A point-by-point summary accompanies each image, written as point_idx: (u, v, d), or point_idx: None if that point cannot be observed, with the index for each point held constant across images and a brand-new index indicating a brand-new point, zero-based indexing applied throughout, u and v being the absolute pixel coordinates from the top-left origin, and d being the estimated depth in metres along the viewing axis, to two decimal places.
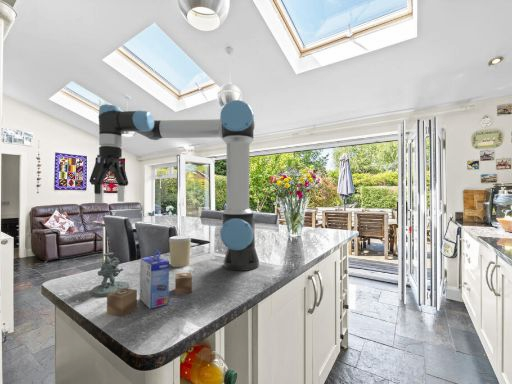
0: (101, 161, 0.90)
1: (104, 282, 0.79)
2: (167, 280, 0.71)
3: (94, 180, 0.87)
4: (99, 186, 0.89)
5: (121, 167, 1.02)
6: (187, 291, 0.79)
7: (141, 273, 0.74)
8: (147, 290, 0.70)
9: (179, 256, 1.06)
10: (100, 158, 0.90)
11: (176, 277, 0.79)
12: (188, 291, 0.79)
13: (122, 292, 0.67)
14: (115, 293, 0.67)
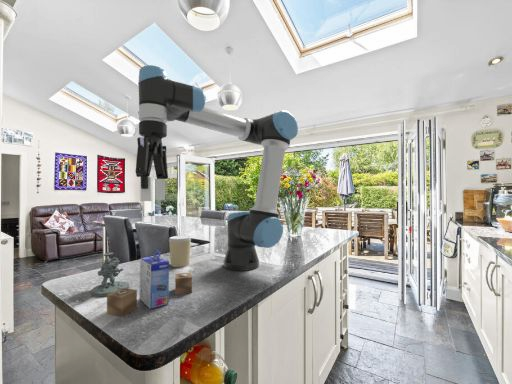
0: (145, 143, 0.67)
1: (104, 282, 0.79)
2: (167, 280, 0.71)
3: (142, 171, 0.66)
4: (147, 179, 0.68)
5: (163, 152, 0.79)
6: (187, 291, 0.79)
7: (141, 273, 0.74)
8: (147, 290, 0.70)
9: (179, 256, 1.06)
10: (143, 139, 0.67)
11: (176, 277, 0.79)
12: (188, 291, 0.79)
13: (122, 292, 0.67)
14: (115, 293, 0.67)
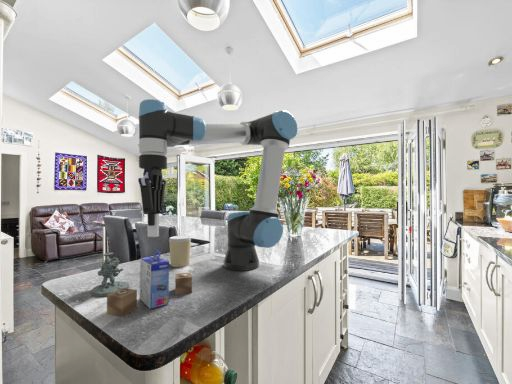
0: (147, 184, 0.68)
1: (104, 282, 0.79)
2: (167, 280, 0.71)
3: (149, 211, 0.70)
4: (153, 216, 0.72)
5: (161, 185, 0.77)
6: (187, 291, 0.79)
7: (141, 273, 0.74)
8: (147, 290, 0.70)
9: (179, 256, 1.06)
10: (144, 181, 0.67)
11: (176, 277, 0.79)
12: (188, 291, 0.79)
13: (122, 292, 0.67)
14: (115, 293, 0.67)
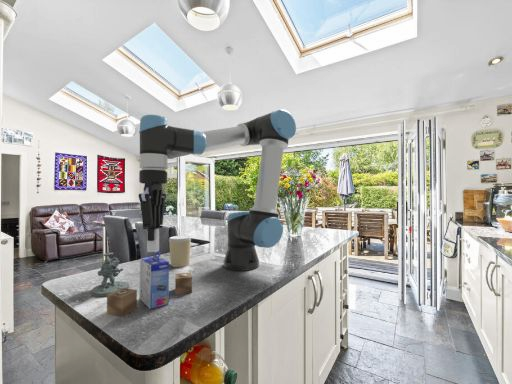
0: (147, 200, 0.68)
1: (104, 282, 0.79)
2: (167, 280, 0.71)
3: (149, 226, 0.69)
4: (153, 231, 0.72)
5: (162, 199, 0.77)
6: (187, 291, 0.79)
7: (141, 273, 0.74)
8: (147, 290, 0.70)
9: (179, 256, 1.06)
10: (145, 196, 0.67)
11: (176, 277, 0.79)
12: (188, 291, 0.79)
13: (122, 292, 0.67)
14: (115, 293, 0.67)
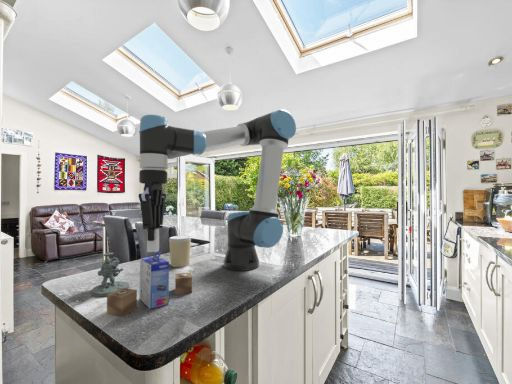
0: (147, 200, 0.68)
1: (104, 282, 0.79)
2: (167, 280, 0.71)
3: (149, 226, 0.69)
4: (153, 231, 0.72)
5: (162, 199, 0.77)
6: (187, 291, 0.79)
7: (141, 273, 0.74)
8: (147, 290, 0.70)
9: (179, 256, 1.06)
10: (145, 196, 0.67)
11: (176, 277, 0.79)
12: (188, 291, 0.79)
13: (122, 292, 0.67)
14: (115, 293, 0.67)
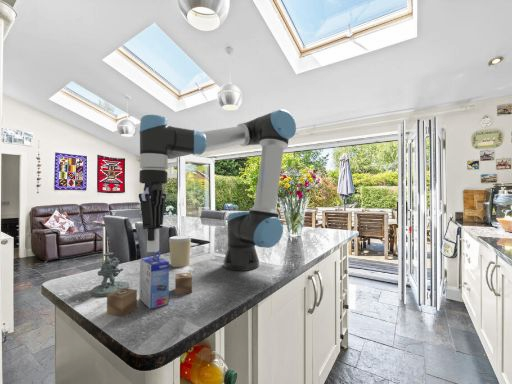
0: (147, 200, 0.68)
1: (104, 282, 0.79)
2: (167, 280, 0.71)
3: (149, 226, 0.69)
4: (153, 231, 0.72)
5: (162, 199, 0.77)
6: (187, 291, 0.79)
7: (141, 273, 0.74)
8: (147, 290, 0.70)
9: (179, 256, 1.06)
10: (145, 196, 0.67)
11: (176, 277, 0.79)
12: (188, 291, 0.79)
13: (122, 292, 0.67)
14: (115, 293, 0.67)
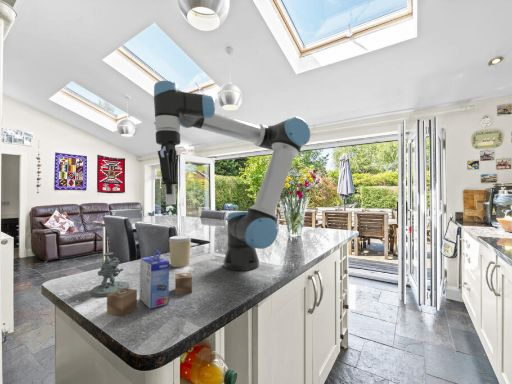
0: (166, 156, 0.76)
1: (104, 282, 0.79)
2: (167, 280, 0.71)
3: (168, 180, 0.78)
4: (171, 186, 0.81)
5: (175, 160, 0.86)
6: (187, 291, 0.79)
7: (141, 273, 0.74)
8: (147, 290, 0.70)
9: (179, 256, 1.06)
10: (163, 153, 0.76)
11: (176, 277, 0.79)
12: (188, 291, 0.79)
13: (122, 292, 0.67)
14: (115, 293, 0.67)
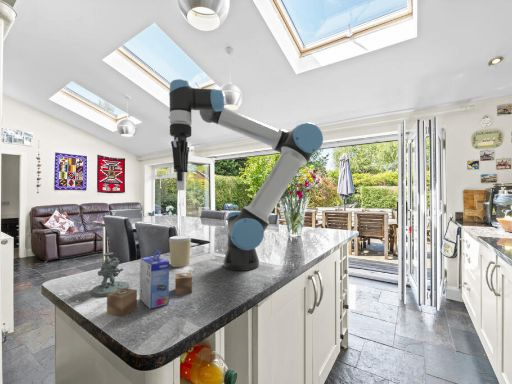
0: (178, 146, 0.86)
1: (104, 282, 0.79)
2: (167, 280, 0.71)
3: (179, 168, 0.88)
4: (181, 173, 0.90)
5: (186, 151, 0.95)
6: (187, 291, 0.79)
7: (141, 273, 0.74)
8: (147, 290, 0.70)
9: (179, 256, 1.06)
10: (176, 143, 0.85)
11: (176, 277, 0.79)
12: (188, 291, 0.79)
13: (122, 292, 0.67)
14: (115, 293, 0.67)
